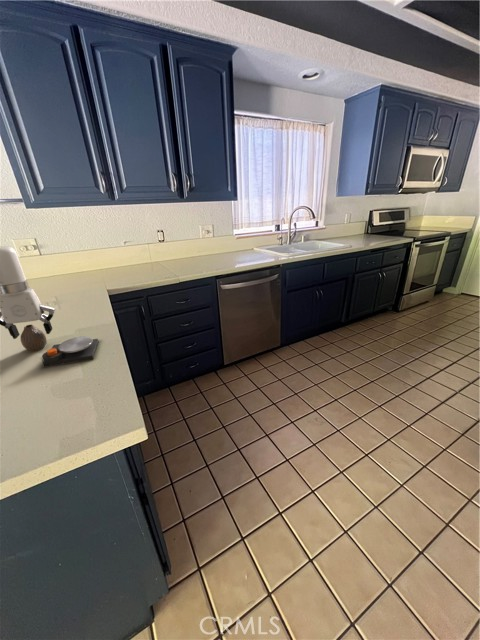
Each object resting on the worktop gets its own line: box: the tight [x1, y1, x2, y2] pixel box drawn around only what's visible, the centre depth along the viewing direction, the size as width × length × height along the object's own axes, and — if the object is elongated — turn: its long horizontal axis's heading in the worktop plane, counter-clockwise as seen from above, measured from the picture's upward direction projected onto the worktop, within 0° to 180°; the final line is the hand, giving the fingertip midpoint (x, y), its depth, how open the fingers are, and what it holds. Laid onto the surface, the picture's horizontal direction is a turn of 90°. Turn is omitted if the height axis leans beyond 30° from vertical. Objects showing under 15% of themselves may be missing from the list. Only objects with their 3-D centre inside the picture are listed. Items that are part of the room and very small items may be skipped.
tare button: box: [46, 347, 58, 356], centre depth 84 cm, size 3×3×2 cm
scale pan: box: [58, 336, 93, 353], centre depth 89 cm, size 10×10×1 cm
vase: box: [19, 324, 47, 352], centre depth 91 cm, size 7×7×9 cm
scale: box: [41, 338, 99, 368], centre depth 89 cm, size 14×12×3 cm
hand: (33, 334), depth 91 cm, fingers open, 9 cm apart
